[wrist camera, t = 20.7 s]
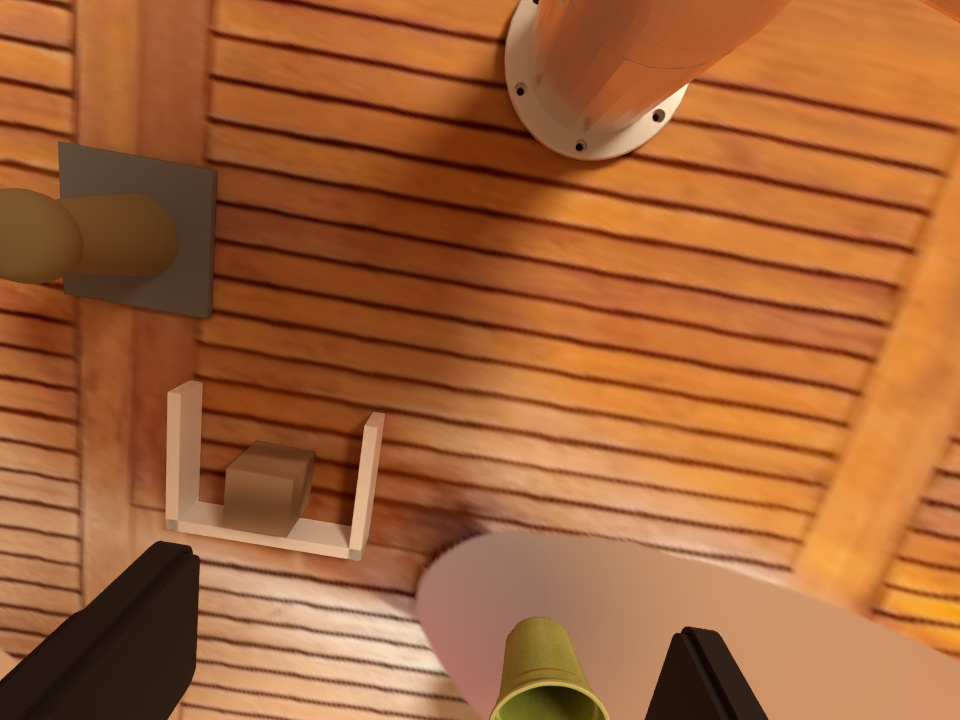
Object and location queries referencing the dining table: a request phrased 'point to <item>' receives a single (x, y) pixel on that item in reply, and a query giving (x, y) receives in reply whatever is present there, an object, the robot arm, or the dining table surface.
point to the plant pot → (544, 677)
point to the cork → (83, 236)
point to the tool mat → (184, 199)
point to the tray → (208, 517)
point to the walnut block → (268, 488)
